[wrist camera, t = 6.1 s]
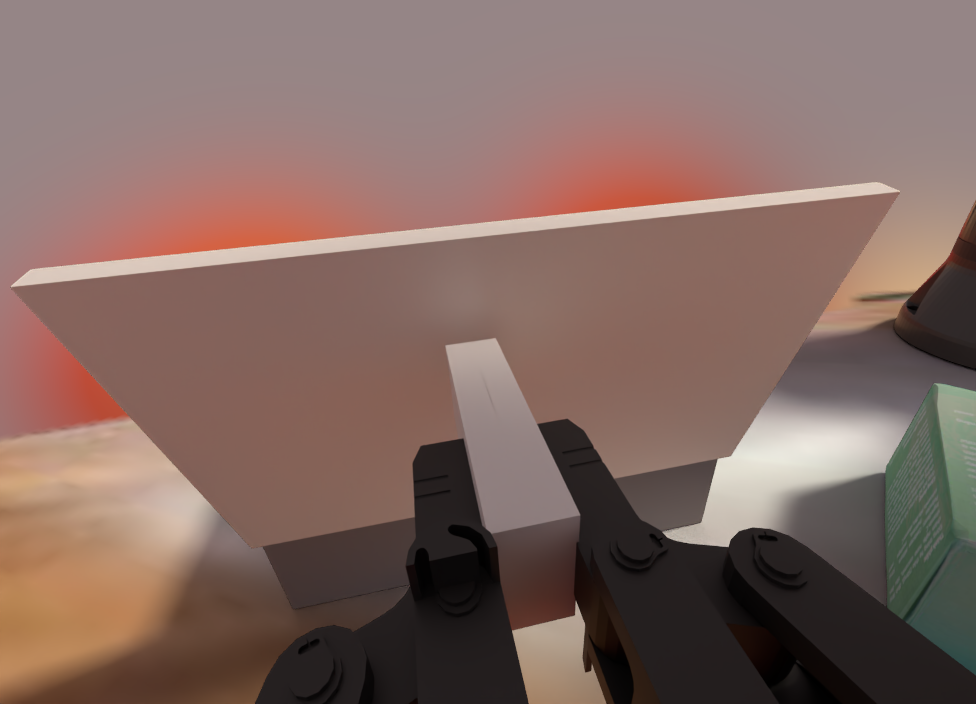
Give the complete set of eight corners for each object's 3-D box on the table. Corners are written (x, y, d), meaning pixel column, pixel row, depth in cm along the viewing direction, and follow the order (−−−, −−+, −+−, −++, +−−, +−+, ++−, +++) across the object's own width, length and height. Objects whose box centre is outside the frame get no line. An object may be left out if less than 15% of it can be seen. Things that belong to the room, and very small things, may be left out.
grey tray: (604, 396, 38) (609, 337, 35) (701, 522, 26) (720, 446, 23) (331, 442, 35) (312, 380, 32) (293, 609, 22) (256, 534, 20)
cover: (877, 182, 13) (900, 191, 13) (721, 443, 23) (730, 456, 22) (30, 269, 10) (9, 287, 10) (255, 531, 20) (251, 548, 19)
